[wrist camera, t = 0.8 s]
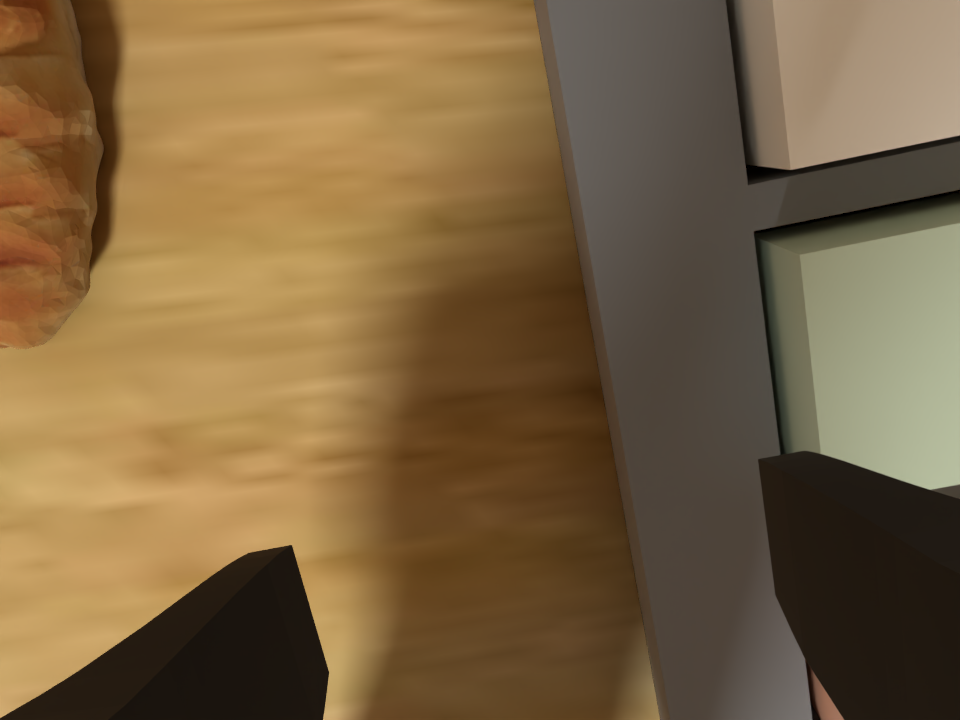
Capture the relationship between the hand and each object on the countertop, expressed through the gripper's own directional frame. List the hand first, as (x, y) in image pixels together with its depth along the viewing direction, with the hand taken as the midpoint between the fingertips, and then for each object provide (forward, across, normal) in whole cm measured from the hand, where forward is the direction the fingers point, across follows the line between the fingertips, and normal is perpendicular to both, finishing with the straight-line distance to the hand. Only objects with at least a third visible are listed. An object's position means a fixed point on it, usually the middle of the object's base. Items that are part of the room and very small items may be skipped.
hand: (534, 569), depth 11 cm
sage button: (+8, -8, 0) cm, 11 cm away
